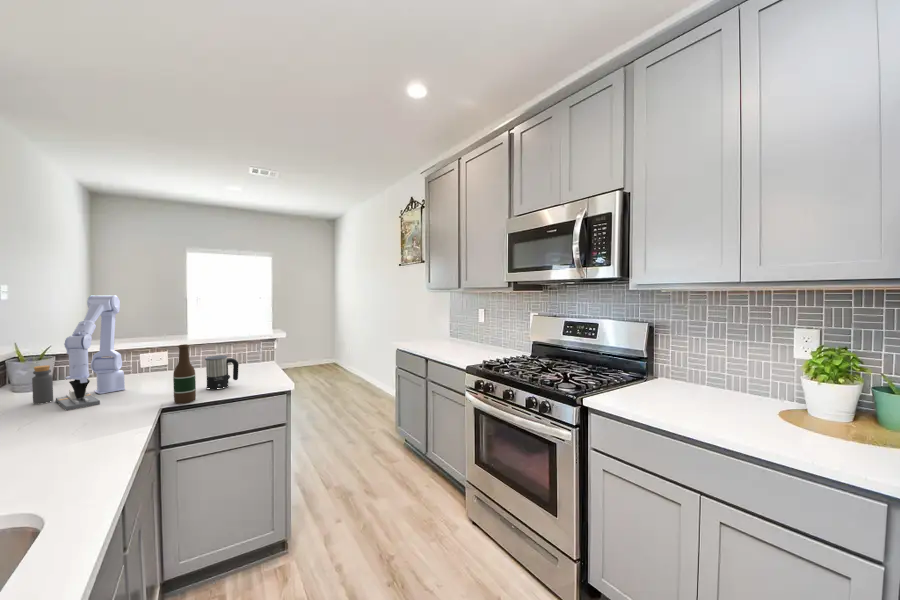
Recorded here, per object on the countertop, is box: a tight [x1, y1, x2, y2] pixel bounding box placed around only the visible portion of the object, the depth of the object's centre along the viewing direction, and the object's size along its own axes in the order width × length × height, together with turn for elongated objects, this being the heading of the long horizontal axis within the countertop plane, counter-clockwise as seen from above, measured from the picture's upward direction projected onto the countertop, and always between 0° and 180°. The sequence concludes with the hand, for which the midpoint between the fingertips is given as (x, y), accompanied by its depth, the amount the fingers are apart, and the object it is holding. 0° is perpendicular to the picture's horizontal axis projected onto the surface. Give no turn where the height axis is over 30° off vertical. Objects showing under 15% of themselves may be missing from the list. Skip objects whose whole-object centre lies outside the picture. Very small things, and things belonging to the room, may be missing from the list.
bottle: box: [31, 364, 54, 405], centre depth 163 cm, size 6×6×15 cm
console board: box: [55, 392, 101, 411], centre depth 163 cm, size 10×19×2 cm, turn 54°
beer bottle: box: [172, 344, 197, 405], centre depth 165 cm, size 8×8×24 cm
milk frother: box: [204, 355, 240, 389], centre depth 191 cm, size 14×16×15 cm
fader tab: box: [68, 389, 87, 399], centre depth 162 cm, size 4×4×4 cm
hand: (80, 397), depth 160 cm, fingers closed
